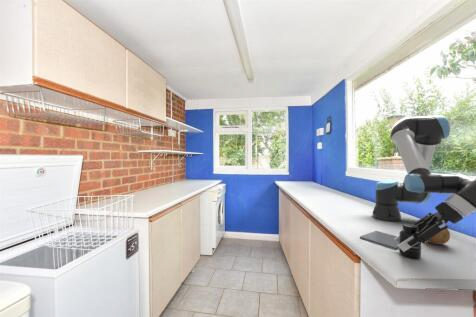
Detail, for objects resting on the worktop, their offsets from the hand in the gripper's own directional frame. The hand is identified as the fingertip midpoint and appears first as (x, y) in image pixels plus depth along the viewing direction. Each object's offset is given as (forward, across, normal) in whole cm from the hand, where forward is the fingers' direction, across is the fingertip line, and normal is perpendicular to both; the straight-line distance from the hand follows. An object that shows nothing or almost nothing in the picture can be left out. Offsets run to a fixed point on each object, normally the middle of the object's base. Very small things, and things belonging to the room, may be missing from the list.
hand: (398, 245), depth 88 cm
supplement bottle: (0, 0, -5) cm, 5 cm away
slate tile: (+5, +14, 0) cm, 15 cm away
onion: (-9, +19, -14) cm, 25 cm away
